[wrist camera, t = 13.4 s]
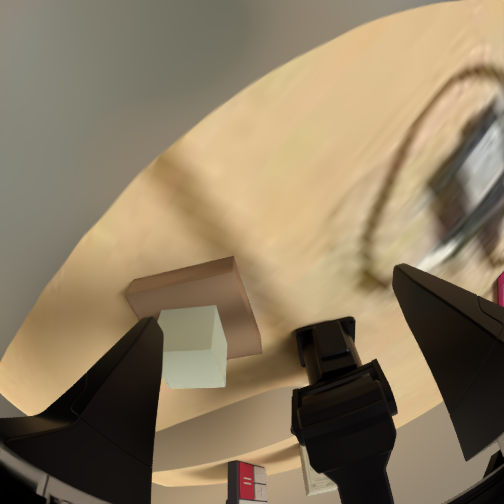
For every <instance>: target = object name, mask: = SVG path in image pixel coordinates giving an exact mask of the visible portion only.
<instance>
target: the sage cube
mask: <svg viewBox="0 0 504 504" xmlns="http://www.w3.org/2000/svg"><path fill="white" fill-rule="evenodd" d="M157 322H158V324H159V326H160V327H161V329H162V331H163V334H164V345H163V368H162V377H163V379H164V381H165V382H166V384H167V385H168V387H169V388H175V389H183V388H219V387H225V385H226V362H227V342H226V338H225V335H224V331H223V328H222V324H221V321H220V318H219V314H218V310H217V307H216V305H212V306H203V307H192V308H182V309H170V310H161V313H160V316H159V318H158V321H157Z"/></svg>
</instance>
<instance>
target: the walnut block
mask: <svg viewBox="0 0 504 504" xmlns="http://www.w3.org/2000/svg"><path fill="white" fill-rule="evenodd" d="M125 297H126V298H127V300H128V302H129V303H130V305H131V307H132V308H133V310H134V312H135V313H136V315H137V317H138V318H139V320H141V319H142V318H143V317H148V316H153V317H155V319H156V320H157V321H158V318H159V316H160V313H161V310H170V309H182V308H192V307H203V306H212V305H216V307H217V310H218V314H219V318H220V321H221V324H222V328H223V331H224V335H225V338H226V342H227V359H233V358H239V357H245V356H251V355H256V354H262V345H261V335H260V332H259V329H258V326H257V323H256V320H255V318H254V315H253V312H252V309H251V306H250V303H249V300H248V297H247V294H246V291H245V288H244V285H243V282H242V279H241V277H240V274H239V271H238V268H237V265H236V262H235V259H234V256H231V257H227V258H223V259H219V260H214V261H210V262H206V263H202V264H198V265H194V266H189V267H185V268H181V269H177V270H173V271H169V272H164V273H160V274H156V275H152V276H148V277H144V278H139V279H135V280H133V282H132V284H131V286H130V287H129V289H128V291H127V293H126V295H125Z"/></svg>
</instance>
